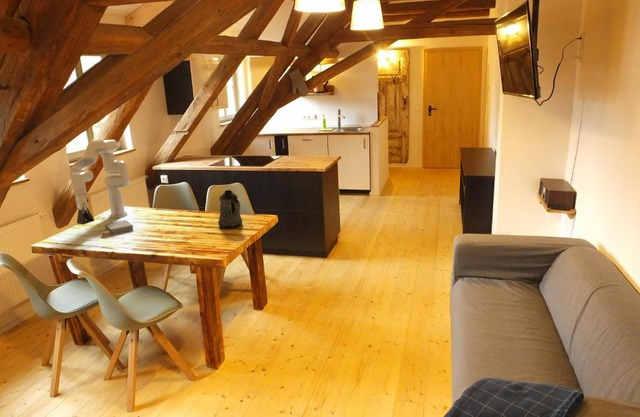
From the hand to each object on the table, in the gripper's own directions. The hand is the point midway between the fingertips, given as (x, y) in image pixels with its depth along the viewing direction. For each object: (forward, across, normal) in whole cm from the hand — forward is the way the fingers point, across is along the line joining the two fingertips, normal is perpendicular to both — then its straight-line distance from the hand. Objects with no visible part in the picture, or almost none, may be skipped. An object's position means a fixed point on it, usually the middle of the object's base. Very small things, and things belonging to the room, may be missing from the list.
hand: (85, 217), depth 308 cm
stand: (+13, +2, +19) cm, 23 cm away
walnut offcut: (+13, +9, +9) cm, 18 cm away
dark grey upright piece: (+13, +48, +82) cm, 96 cm away
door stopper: (+3, 0, 0) cm, 3 cm away
